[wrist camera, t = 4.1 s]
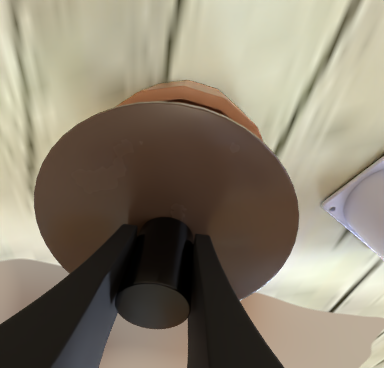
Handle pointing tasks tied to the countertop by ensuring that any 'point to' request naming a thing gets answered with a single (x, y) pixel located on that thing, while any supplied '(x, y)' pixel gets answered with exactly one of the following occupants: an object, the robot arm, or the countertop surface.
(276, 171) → the pot lid
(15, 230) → the countertop surface
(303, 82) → the countertop surface
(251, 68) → the countertop surface
